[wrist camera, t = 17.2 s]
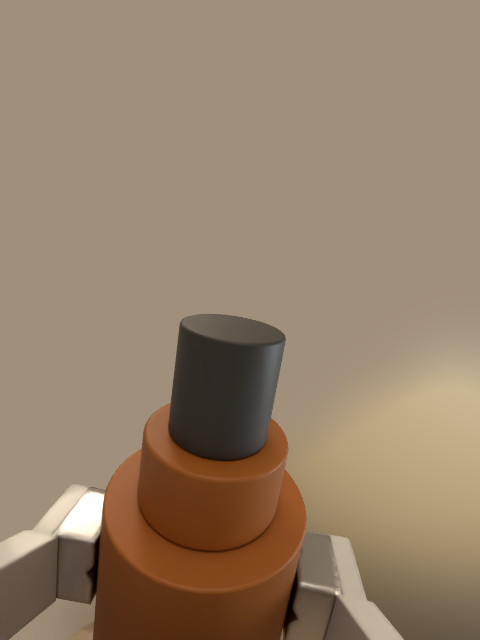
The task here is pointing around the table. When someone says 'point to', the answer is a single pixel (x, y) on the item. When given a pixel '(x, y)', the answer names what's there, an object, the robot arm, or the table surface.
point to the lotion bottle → (205, 500)
